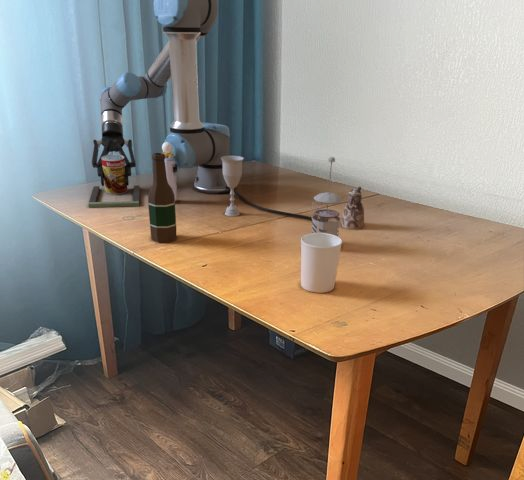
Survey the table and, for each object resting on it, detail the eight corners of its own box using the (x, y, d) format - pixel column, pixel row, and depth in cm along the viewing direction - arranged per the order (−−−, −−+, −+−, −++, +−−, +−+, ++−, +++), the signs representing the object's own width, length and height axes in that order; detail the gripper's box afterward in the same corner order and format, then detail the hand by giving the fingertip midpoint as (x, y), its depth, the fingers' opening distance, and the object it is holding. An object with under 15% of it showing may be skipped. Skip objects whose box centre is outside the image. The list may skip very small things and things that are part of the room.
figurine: (336, 225, 176) (340, 187, 170) (349, 220, 180) (353, 183, 174) (354, 230, 172) (359, 192, 166) (367, 225, 176) (372, 188, 170)
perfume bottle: (160, 203, 190) (156, 143, 179) (163, 199, 195) (159, 139, 184) (177, 204, 190) (174, 144, 179) (180, 199, 195) (177, 140, 184)
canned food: (114, 195, 197) (109, 162, 190) (101, 190, 201) (96, 157, 194) (132, 191, 202) (128, 157, 195) (119, 185, 206) (115, 153, 199)
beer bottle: (182, 236, 163) (177, 152, 151) (169, 244, 157) (164, 158, 144) (158, 232, 165) (152, 149, 153) (145, 240, 159) (138, 155, 147)
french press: (318, 253, 155) (326, 162, 141) (297, 240, 163) (303, 153, 150) (347, 248, 159) (357, 159, 145) (325, 235, 167) (333, 150, 154)
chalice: (244, 211, 185) (245, 156, 176) (241, 217, 180) (242, 161, 170) (223, 210, 186) (222, 155, 176) (219, 216, 180) (219, 159, 171)
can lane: (94, 189, 202) (93, 186, 202) (139, 188, 205) (139, 185, 205) (88, 207, 184) (88, 204, 183) (139, 206, 187) (138, 202, 186)
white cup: (295, 277, 140) (298, 232, 134) (333, 277, 141) (337, 232, 134) (300, 294, 132) (304, 247, 125) (340, 294, 132) (346, 247, 126)
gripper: (141, 133, 206) (145, 188, 201) (84, 134, 203) (86, 189, 198) (140, 121, 199) (143, 177, 194) (81, 121, 196) (83, 178, 191)
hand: (114, 183), depth 196 cm, fingers closed on canned food, 8 cm apart
